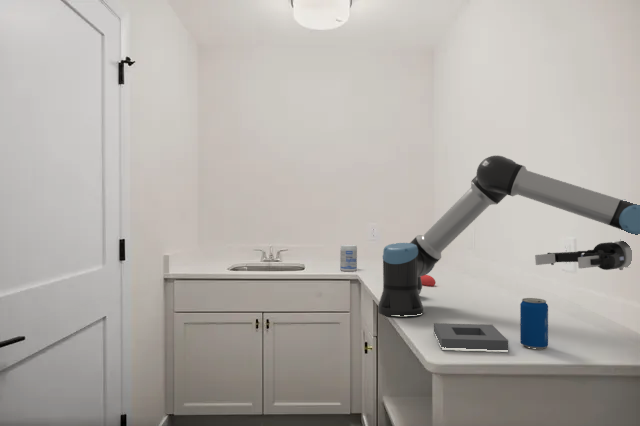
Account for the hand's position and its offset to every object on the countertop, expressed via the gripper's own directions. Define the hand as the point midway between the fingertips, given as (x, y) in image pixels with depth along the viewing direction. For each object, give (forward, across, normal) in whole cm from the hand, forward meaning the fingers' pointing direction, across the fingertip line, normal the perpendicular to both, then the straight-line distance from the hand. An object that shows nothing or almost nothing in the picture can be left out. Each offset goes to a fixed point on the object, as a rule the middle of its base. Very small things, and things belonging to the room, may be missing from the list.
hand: (556, 261), depth 123 cm
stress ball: (-21, +93, -18) cm, 97 cm away
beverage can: (+9, 0, -21) cm, 23 cm away
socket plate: (+23, +9, -20) cm, 32 cm away
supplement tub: (-9, +153, -15) cm, 154 cm away
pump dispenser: (+2, +71, -18) cm, 73 cm away
